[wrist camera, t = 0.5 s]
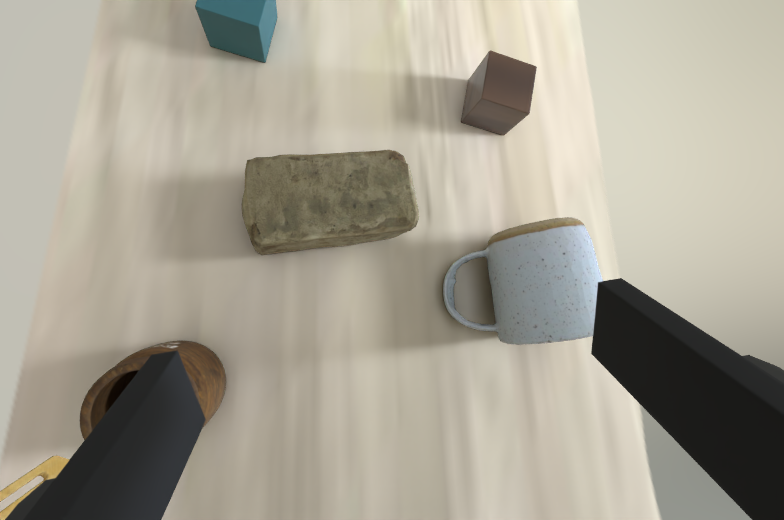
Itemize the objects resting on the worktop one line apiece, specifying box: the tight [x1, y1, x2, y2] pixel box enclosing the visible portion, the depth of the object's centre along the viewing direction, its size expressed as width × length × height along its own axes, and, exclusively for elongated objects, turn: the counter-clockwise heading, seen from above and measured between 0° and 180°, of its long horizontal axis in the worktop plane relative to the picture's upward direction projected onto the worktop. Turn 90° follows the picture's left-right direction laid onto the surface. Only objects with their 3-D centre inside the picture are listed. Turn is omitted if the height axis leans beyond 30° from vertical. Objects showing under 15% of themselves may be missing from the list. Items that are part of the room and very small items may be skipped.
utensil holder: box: [0, 341, 226, 520], centre depth 20 cm, size 6×6×12 cm
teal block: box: [195, 0, 277, 63], centre depth 27 cm, size 4×4×4 cm
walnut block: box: [461, 51, 537, 135], centre depth 31 cm, size 4×4×4 cm
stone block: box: [242, 150, 419, 255], centre depth 27 cm, size 6×12×5 cm, turn 99°
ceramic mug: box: [443, 217, 603, 345], centre depth 28 cm, size 11×8×8 cm
